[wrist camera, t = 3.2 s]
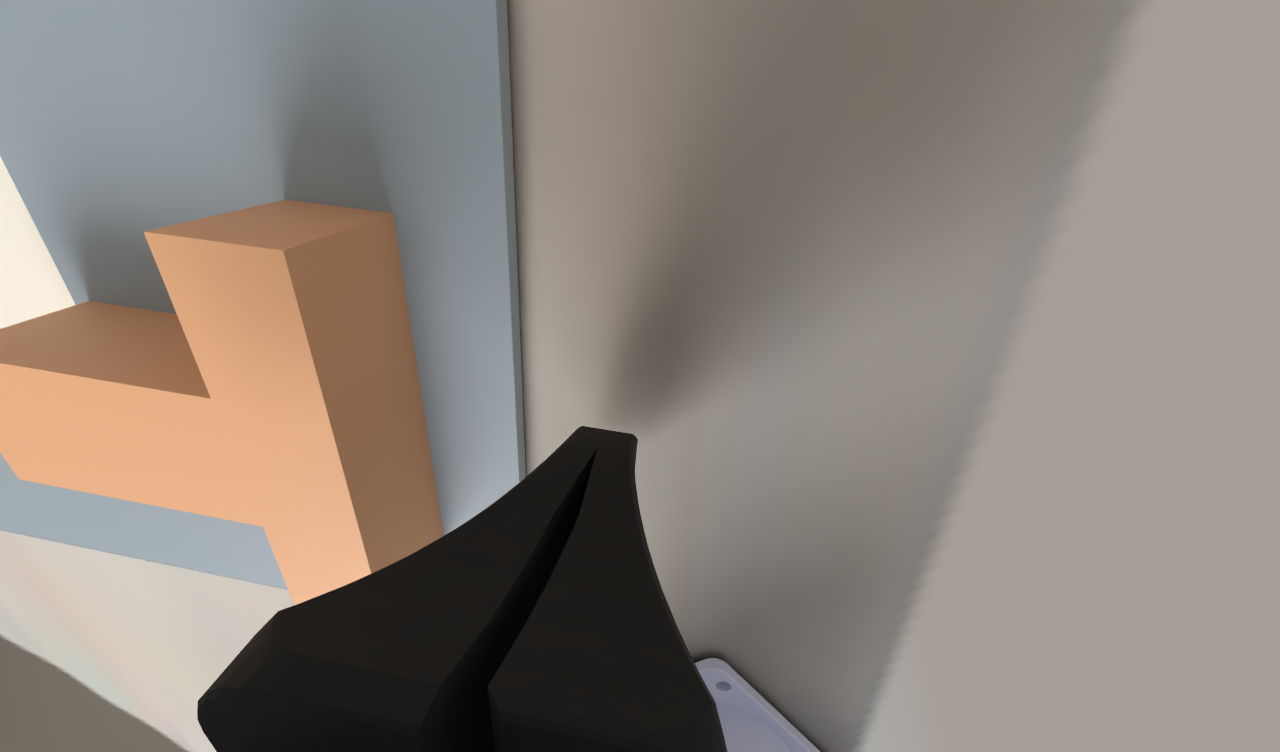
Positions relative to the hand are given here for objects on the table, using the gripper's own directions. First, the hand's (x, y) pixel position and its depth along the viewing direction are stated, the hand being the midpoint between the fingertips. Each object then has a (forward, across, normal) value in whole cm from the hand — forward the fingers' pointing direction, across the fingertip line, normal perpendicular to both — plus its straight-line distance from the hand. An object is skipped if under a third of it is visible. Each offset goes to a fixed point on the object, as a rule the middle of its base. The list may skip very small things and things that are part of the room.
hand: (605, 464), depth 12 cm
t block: (+1, +10, 0) cm, 10 cm away
